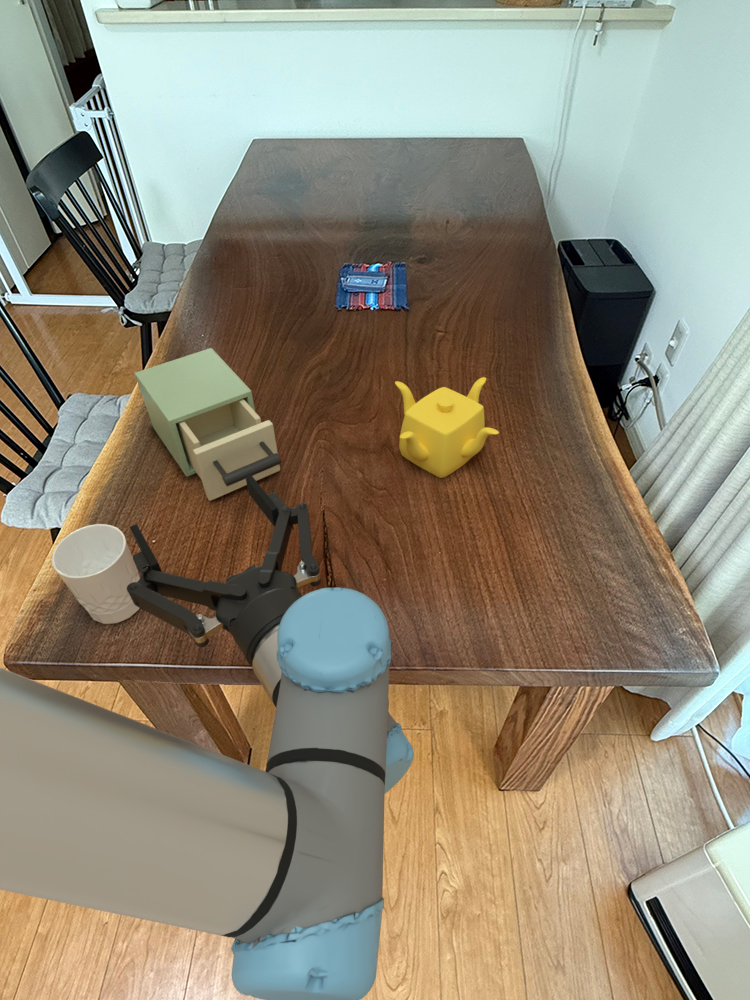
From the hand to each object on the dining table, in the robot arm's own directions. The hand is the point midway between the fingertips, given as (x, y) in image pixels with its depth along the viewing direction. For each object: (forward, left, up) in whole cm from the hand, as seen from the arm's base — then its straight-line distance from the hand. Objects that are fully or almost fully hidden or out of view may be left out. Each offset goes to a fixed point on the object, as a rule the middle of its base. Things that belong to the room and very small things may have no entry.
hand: (195, 507), depth 68 cm
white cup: (-12, -1, -13) cm, 18 cm away
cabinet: (0, +29, -13) cm, 32 cm away
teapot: (+36, +16, -13) cm, 41 cm away
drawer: (+4, +19, -12) cm, 23 cm away
